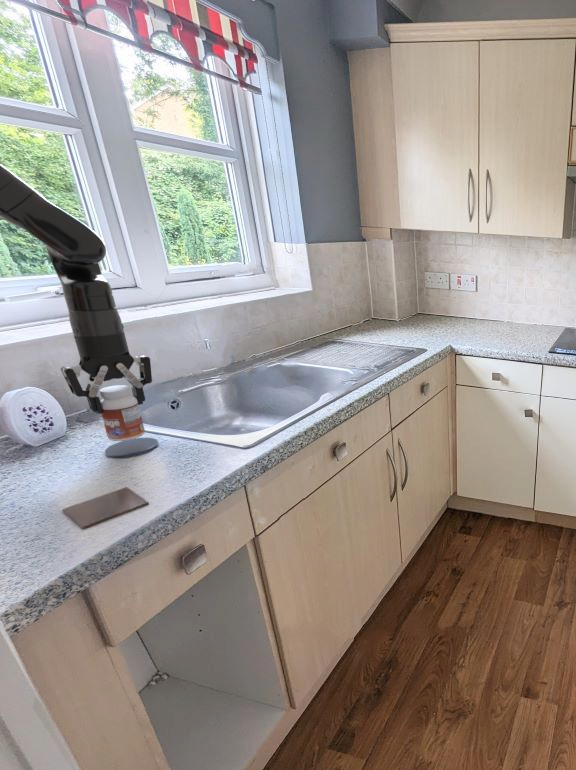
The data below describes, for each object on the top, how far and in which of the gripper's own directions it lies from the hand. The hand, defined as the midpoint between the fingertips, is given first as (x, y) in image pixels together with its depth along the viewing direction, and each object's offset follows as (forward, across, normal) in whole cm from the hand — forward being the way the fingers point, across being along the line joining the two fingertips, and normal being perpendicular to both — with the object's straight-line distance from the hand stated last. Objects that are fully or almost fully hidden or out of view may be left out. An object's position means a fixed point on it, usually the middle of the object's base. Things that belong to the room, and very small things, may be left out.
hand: (119, 407), depth 97 cm
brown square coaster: (+10, +12, +23) cm, 28 cm away
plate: (+10, 0, 0) cm, 10 cm away
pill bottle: (+7, 0, 0) cm, 7 cm away
